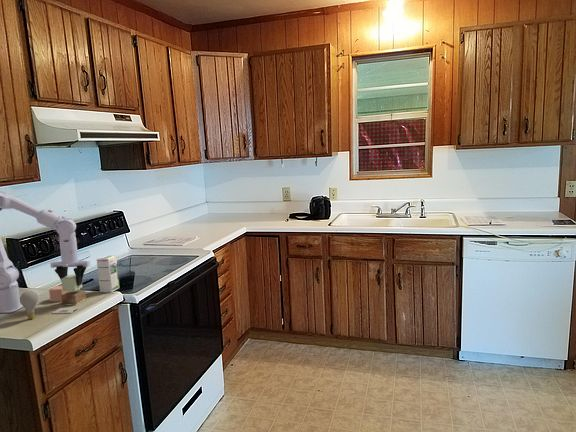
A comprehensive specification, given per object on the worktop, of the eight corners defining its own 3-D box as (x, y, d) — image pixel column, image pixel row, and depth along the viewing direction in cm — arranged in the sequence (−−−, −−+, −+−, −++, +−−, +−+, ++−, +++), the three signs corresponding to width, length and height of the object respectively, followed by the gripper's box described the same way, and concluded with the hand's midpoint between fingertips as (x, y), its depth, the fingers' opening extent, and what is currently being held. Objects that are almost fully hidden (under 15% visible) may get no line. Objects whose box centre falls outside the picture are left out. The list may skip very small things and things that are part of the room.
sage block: (62, 291, 160) (61, 278, 159) (70, 287, 165) (68, 275, 164) (75, 291, 159) (74, 278, 159) (82, 287, 164) (81, 274, 164)
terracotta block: (50, 301, 165) (49, 289, 164) (57, 297, 170) (56, 285, 169) (62, 301, 164) (61, 289, 164) (69, 297, 169) (68, 285, 169)
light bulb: (18, 321, 144) (14, 293, 143) (30, 315, 149) (27, 288, 148) (32, 321, 143) (29, 293, 142) (44, 316, 148) (41, 288, 147)
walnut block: (62, 305, 160) (61, 295, 160) (72, 300, 166) (71, 290, 166) (76, 305, 159) (75, 295, 159) (86, 300, 165) (85, 290, 165)
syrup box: (112, 292, 174) (109, 258, 172) (99, 292, 175) (96, 258, 173) (120, 288, 180) (117, 255, 178) (107, 288, 181) (104, 255, 179)
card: (52, 313, 150) (52, 312, 150) (60, 309, 155) (60, 307, 155) (71, 313, 150) (71, 312, 150) (78, 308, 155) (78, 307, 155)
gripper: (44, 253, 157) (47, 288, 158) (81, 252, 156) (85, 287, 158) (55, 249, 164) (58, 283, 165) (91, 248, 163) (94, 282, 165)
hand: (72, 285), depth 162 cm, fingers closed on sage block, 5 cm apart
